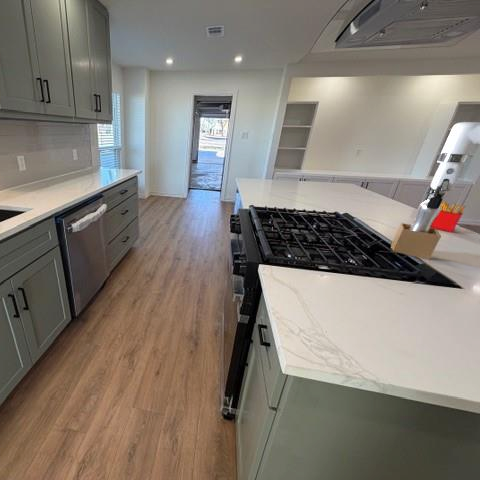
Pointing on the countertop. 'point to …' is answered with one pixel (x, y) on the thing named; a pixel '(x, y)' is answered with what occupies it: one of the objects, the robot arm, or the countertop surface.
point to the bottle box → (415, 241)
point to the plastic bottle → (424, 217)
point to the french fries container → (447, 218)
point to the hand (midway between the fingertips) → (430, 206)
